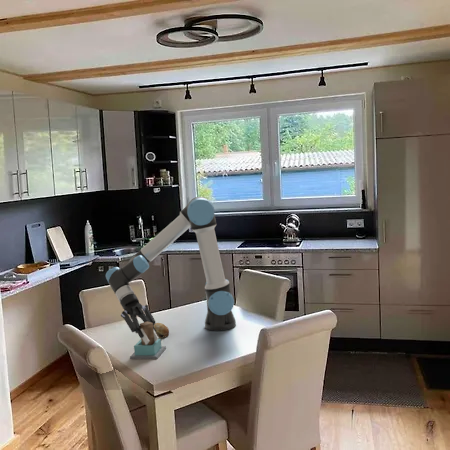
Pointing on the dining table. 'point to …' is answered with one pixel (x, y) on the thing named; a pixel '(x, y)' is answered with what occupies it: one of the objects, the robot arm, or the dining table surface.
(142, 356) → the teal square socket
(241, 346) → the dining table surface
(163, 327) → the bread roll
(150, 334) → the walnut post
